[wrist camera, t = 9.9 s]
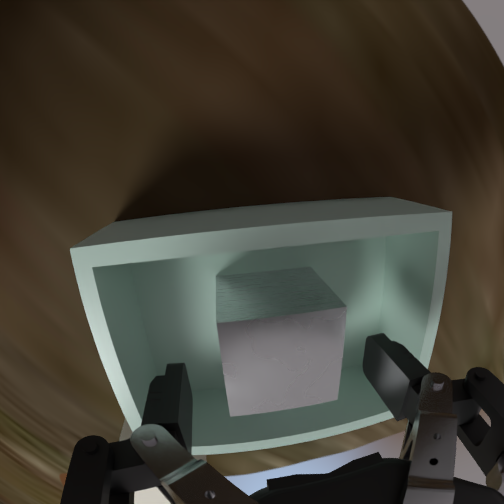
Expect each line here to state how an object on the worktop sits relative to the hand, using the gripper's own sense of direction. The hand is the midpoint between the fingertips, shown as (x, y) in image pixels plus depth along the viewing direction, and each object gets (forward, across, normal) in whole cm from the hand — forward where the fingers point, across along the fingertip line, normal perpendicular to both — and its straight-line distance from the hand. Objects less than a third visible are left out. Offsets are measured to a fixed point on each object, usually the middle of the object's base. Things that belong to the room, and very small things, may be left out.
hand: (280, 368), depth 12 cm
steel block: (+4, 0, 0) cm, 5 cm away
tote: (+5, 0, 0) cm, 5 cm away
